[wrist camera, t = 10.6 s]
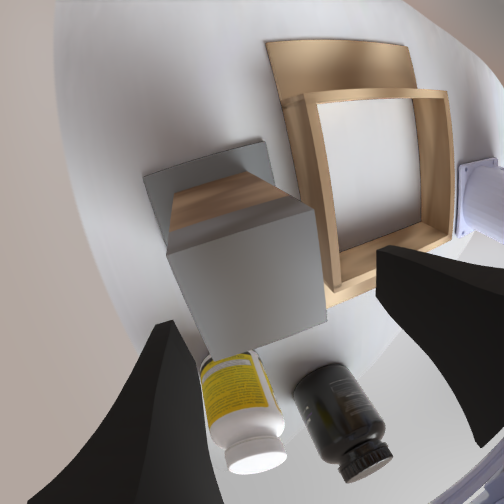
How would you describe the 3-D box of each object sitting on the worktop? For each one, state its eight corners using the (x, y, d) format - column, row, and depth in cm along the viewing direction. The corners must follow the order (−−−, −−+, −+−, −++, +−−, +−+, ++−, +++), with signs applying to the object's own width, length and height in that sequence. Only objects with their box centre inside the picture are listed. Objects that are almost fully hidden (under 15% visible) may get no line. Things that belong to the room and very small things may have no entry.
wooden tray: (405, 47, 15) (435, 41, 12) (422, 262, 24) (446, 278, 21) (265, 43, 13) (284, 25, 10) (317, 310, 22) (336, 335, 19)
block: (247, 171, 16) (314, 209, 8) (263, 238, 18) (327, 321, 10) (174, 193, 16) (166, 255, 8) (196, 259, 18) (213, 361, 10)
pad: (263, 141, 16) (265, 141, 16) (286, 248, 19) (288, 251, 19) (143, 176, 15) (142, 177, 15) (182, 282, 18) (182, 285, 18)
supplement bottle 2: (278, 394, 26) (321, 491, 15) (329, 353, 25) (392, 448, 15) (313, 407, 29) (354, 486, 18) (357, 373, 28) (410, 449, 18)
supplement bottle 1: (186, 369, 22) (199, 472, 13) (230, 333, 21) (264, 440, 12) (230, 392, 24) (254, 480, 15) (272, 360, 24) (313, 451, 15)
